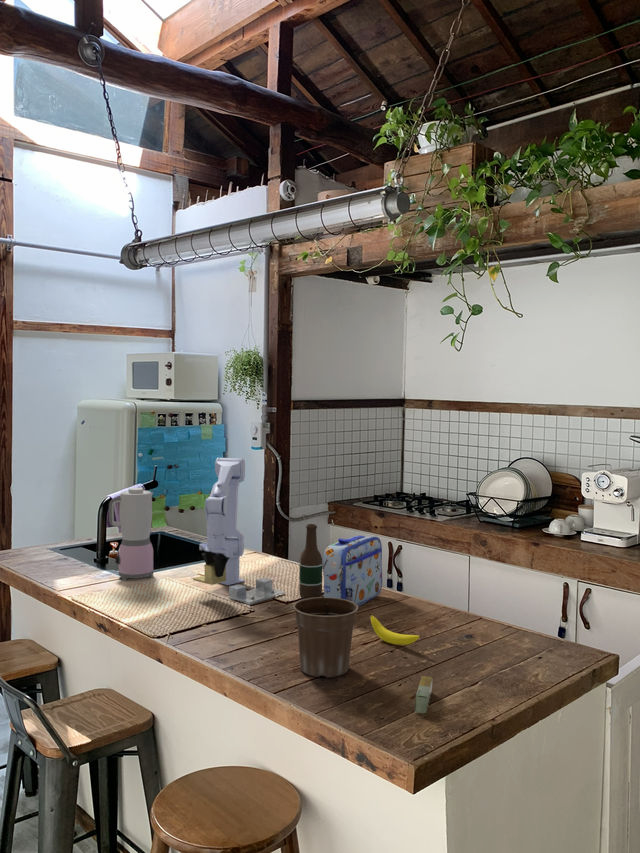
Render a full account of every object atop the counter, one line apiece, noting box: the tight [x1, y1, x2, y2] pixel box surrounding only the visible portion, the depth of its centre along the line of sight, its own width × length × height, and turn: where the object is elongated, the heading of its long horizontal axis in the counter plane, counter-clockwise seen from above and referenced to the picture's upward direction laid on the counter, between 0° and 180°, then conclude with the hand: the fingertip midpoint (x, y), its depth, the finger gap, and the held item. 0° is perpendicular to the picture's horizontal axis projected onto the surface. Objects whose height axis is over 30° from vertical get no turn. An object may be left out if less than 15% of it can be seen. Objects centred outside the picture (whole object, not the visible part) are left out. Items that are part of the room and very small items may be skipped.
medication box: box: [414, 675, 433, 714], centre depth 169 cm, size 12×3×4 cm, turn 166°
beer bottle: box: [298, 523, 323, 599], centre depth 248 cm, size 8×8×24 cm
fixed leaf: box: [228, 577, 286, 606], centre depth 247 cm, size 10×16×4 cm, turn 138°
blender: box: [108, 487, 155, 582], centre depth 267 cm, size 16×12×32 cm
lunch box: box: [322, 535, 383, 607], centre depth 241 cm, size 28×10×22 cm, turn 149°
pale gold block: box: [192, 562, 226, 586], centre depth 243 cm, size 10×6×6 cm, turn 48°
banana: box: [368, 613, 421, 646], centre depth 205 cm, size 3×19×6 cm, turn 40°
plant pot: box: [292, 596, 359, 678], centre depth 186 cm, size 16×16×16 cm
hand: (215, 575), depth 241 cm, fingers closed on pale gold block, 3 cm apart
